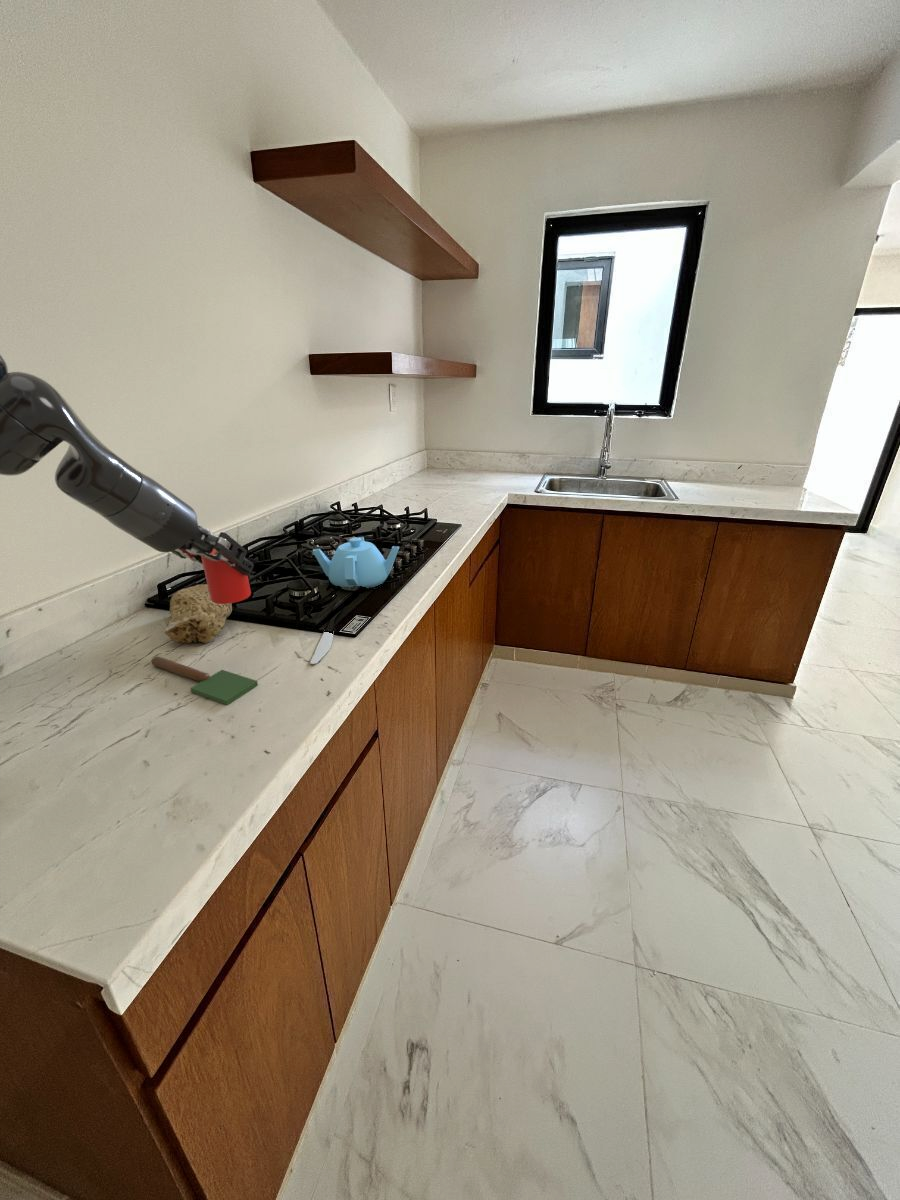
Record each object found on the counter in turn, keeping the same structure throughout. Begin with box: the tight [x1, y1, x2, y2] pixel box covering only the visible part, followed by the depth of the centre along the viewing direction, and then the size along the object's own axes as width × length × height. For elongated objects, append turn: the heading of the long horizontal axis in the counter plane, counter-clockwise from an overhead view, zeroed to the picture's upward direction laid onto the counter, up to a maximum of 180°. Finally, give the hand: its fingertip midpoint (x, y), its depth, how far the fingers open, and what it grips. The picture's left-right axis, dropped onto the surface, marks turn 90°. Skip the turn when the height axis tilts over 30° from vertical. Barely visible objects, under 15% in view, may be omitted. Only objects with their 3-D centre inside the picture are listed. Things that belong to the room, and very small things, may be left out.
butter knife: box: [309, 631, 334, 665], centre depth 96 cm, size 1×27×3 cm
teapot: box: [312, 536, 400, 588], centre depth 116 cm, size 15×15×11 cm
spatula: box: [150, 656, 259, 706], centre depth 80 cm, size 21×6×2 cm, turn 63°
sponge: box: [164, 583, 233, 644], centre depth 98 cm, size 13×8×20 cm
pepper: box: [201, 549, 252, 604], centre depth 78 cm, size 6×6×9 cm
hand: (233, 567), depth 80 cm, fingers closed on pepper, 6 cm apart
